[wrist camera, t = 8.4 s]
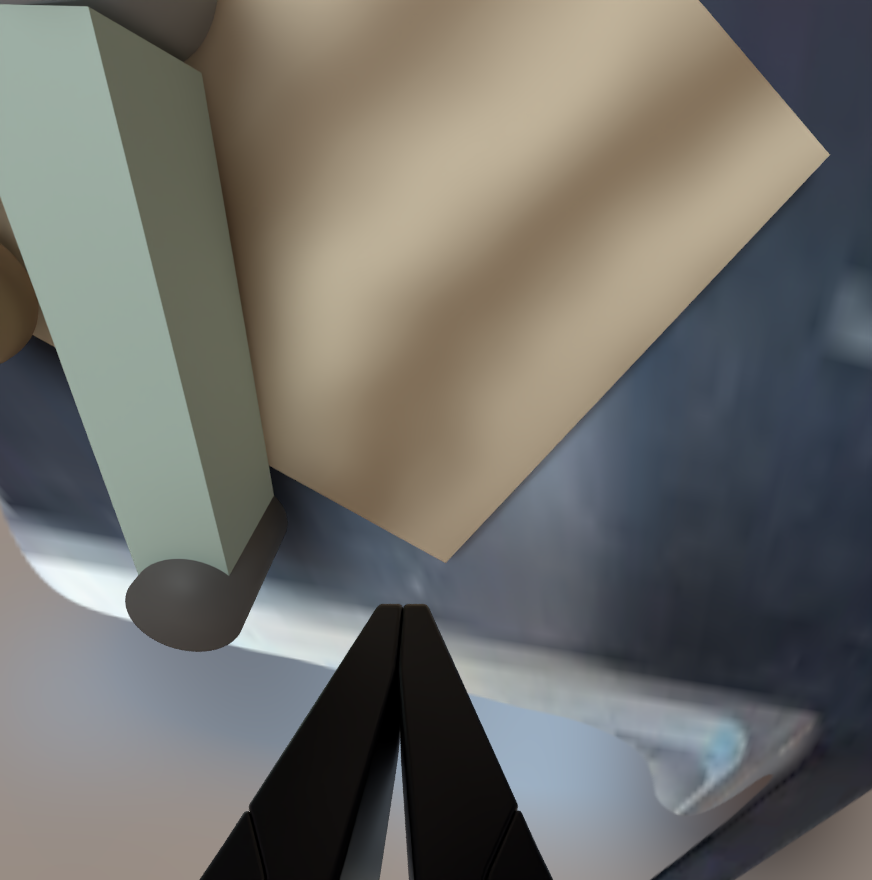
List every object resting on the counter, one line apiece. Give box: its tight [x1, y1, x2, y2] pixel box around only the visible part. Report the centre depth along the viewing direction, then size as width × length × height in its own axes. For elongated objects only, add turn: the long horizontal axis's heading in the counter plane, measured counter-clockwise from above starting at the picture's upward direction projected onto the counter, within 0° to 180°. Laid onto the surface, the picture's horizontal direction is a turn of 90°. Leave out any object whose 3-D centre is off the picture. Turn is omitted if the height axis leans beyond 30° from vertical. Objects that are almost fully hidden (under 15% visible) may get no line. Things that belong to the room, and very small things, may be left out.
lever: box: [0, 0, 288, 652], centre depth 11 cm, size 19×4×6 cm, turn 179°
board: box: [0, 0, 829, 563], centre depth 13 cm, size 22×17×1 cm
